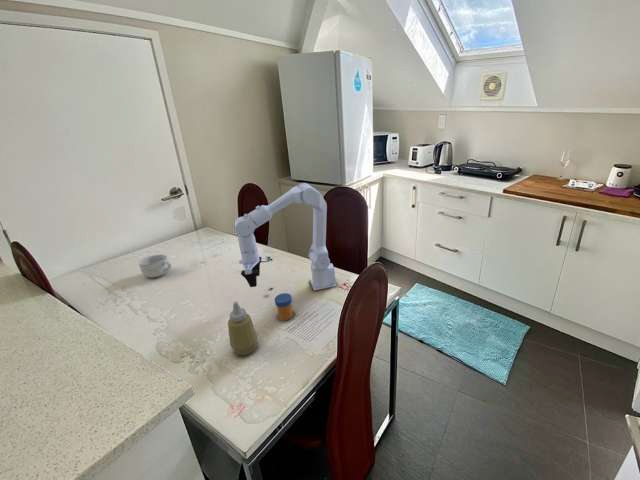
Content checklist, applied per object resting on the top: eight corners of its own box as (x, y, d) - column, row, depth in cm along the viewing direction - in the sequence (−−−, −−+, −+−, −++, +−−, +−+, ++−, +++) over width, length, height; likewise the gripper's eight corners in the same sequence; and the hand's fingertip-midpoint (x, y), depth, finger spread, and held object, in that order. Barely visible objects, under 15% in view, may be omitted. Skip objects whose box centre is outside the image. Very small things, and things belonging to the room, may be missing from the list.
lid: (290, 296, 116) (290, 291, 115) (293, 304, 111) (292, 300, 110) (274, 299, 114) (273, 295, 113) (276, 308, 109) (275, 304, 108)
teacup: (138, 277, 141) (132, 262, 138) (161, 266, 150) (156, 251, 147) (159, 283, 136) (153, 267, 133) (181, 271, 145) (176, 256, 142)
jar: (291, 310, 118) (289, 293, 115) (293, 318, 113) (291, 301, 110) (278, 313, 116) (275, 296, 113) (279, 322, 112) (276, 304, 109)
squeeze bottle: (237, 341, 103) (226, 295, 96) (262, 339, 104) (252, 294, 97) (228, 359, 96) (216, 312, 89) (255, 357, 96) (245, 310, 89)
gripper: (241, 241, 119) (247, 272, 125) (232, 259, 106) (240, 292, 112) (260, 240, 120) (265, 270, 126) (254, 257, 107) (260, 290, 113)
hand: (255, 281), depth 119 cm, fingers open, 7 cm apart
